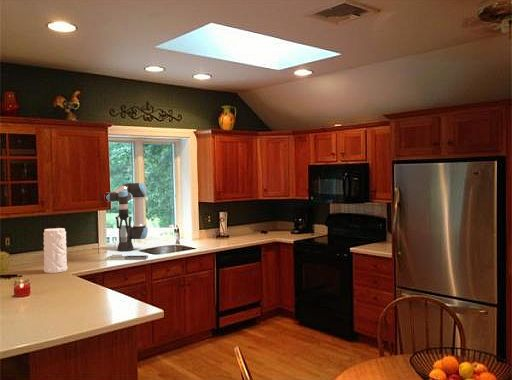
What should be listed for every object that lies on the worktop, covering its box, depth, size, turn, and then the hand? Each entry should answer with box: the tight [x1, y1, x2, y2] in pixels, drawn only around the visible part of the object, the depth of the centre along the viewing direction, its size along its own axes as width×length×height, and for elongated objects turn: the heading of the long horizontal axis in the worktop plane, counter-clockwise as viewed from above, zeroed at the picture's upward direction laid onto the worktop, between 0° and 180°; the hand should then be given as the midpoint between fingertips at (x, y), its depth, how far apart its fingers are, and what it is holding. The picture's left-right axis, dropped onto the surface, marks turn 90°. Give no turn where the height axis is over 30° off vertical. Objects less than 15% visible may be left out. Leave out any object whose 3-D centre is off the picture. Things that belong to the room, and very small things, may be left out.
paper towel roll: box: [42, 227, 68, 274], centre depth 340 cm, size 17×16×32 cm
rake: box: [121, 224, 127, 242], centre depth 381 cm, size 5×4×14 cm
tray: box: [104, 255, 127, 261], centre depth 381 cm, size 11×16×3 cm
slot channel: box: [123, 254, 149, 261], centre depth 381 cm, size 9×18×3 cm, turn 91°
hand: (123, 236), depth 381 cm, fingers closed on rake, 3 cm apart
